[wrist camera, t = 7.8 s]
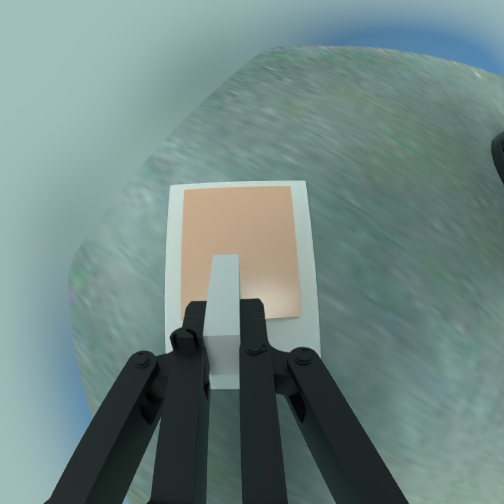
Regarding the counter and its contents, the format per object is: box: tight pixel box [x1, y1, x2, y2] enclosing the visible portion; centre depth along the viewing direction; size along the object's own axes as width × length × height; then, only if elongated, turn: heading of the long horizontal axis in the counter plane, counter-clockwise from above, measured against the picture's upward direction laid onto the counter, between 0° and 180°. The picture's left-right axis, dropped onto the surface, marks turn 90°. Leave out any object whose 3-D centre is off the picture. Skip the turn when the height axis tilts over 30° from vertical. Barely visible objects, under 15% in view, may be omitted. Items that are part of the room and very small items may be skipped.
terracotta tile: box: [181, 186, 301, 321], centre depth 26 cm, size 2×10×12 cm
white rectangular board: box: [165, 181, 321, 389], centre depth 27 cm, size 20×14×1 cm
